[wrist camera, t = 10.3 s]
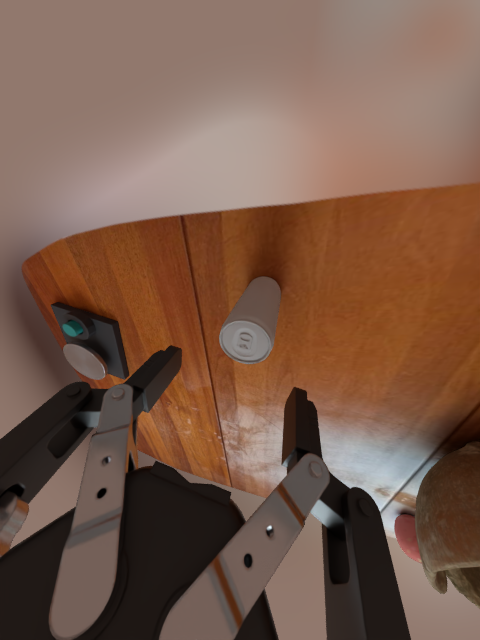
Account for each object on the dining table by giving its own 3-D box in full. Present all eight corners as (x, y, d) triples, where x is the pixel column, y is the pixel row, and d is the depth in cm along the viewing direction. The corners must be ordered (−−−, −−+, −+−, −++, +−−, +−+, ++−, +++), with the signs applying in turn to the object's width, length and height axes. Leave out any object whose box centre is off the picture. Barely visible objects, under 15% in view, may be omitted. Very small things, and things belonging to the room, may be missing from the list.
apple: (385, 506, 45) (401, 557, 38) (424, 510, 42) (448, 567, 35) (391, 520, 48) (407, 570, 41) (428, 524, 44) (452, 580, 38)
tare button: (68, 318, 35) (60, 322, 34) (81, 322, 35) (73, 326, 34) (73, 329, 37) (65, 334, 35) (85, 334, 36) (77, 338, 35)
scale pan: (60, 335, 38) (56, 338, 37) (102, 350, 37) (98, 352, 36) (75, 368, 43) (71, 371, 43) (111, 382, 42) (109, 385, 42)
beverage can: (244, 303, 27) (215, 356, 17) (250, 271, 25) (219, 312, 15) (276, 311, 27) (266, 371, 17) (285, 279, 24) (279, 327, 14)
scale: (56, 298, 37) (39, 304, 35) (117, 317, 36) (103, 325, 33) (80, 357, 46) (67, 366, 44) (129, 375, 45) (119, 385, 42)
